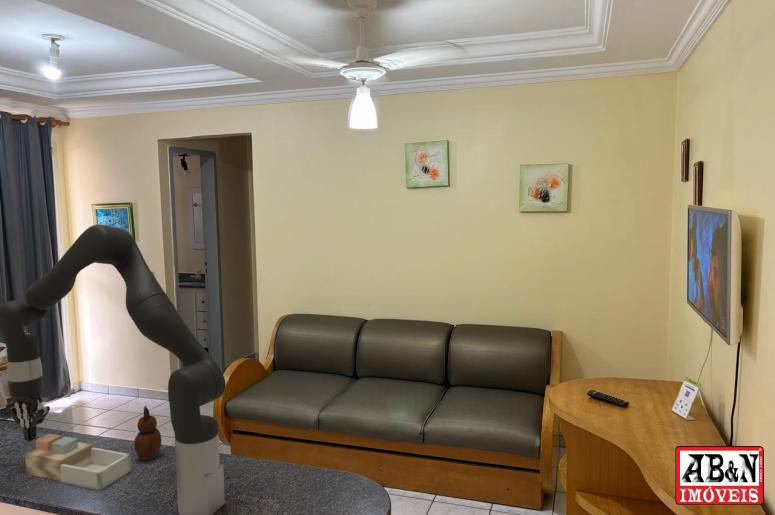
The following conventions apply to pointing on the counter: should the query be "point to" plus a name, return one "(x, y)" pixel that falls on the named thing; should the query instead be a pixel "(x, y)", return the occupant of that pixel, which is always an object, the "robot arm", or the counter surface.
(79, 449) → the wooden block
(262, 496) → the counter surface
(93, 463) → the tray
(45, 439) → the terracotta tile
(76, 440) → the slate tile
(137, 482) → the counter surface
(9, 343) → the robot arm
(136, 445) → the wooden figurine
